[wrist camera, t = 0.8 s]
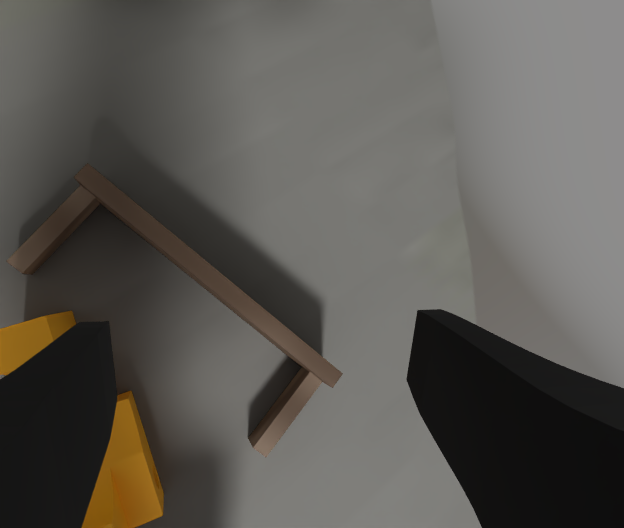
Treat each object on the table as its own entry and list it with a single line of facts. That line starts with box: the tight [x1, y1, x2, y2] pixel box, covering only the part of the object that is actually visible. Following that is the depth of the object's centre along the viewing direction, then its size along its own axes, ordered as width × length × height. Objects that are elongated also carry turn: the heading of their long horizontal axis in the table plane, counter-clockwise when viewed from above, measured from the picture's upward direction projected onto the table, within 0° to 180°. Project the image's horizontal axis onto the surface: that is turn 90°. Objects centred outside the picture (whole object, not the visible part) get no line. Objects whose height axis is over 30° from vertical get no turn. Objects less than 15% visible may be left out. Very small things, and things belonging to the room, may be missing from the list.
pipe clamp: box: [0, 311, 164, 528], centre depth 26 cm, size 12×4×6 cm, turn 18°
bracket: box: [6, 163, 342, 457], centre depth 28 cm, size 6×18×4 cm, turn 51°
